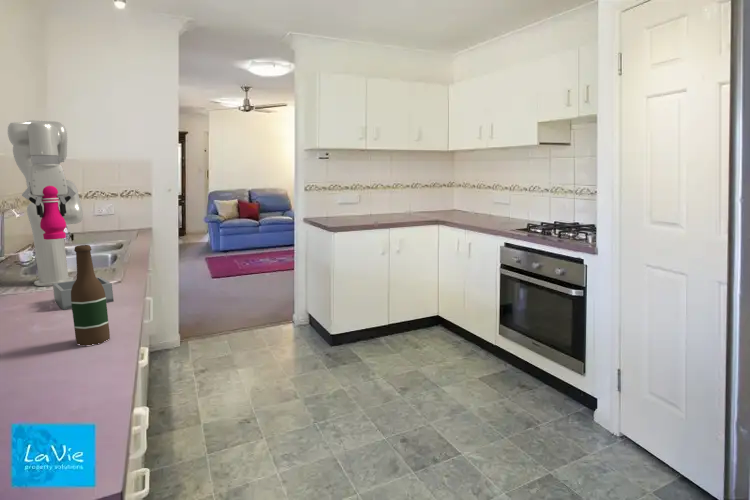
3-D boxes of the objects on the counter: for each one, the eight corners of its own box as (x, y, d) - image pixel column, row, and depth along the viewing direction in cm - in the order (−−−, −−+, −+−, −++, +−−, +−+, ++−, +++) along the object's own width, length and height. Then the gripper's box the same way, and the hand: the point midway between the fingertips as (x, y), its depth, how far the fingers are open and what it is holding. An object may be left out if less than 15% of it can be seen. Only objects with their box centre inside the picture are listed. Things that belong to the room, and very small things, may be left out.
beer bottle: (101, 333, 123) (91, 242, 119) (117, 339, 119) (107, 244, 115) (69, 342, 117) (57, 246, 113) (84, 349, 113) (72, 249, 109)
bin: (54, 301, 156) (52, 283, 155) (102, 293, 165) (100, 276, 164) (63, 310, 146) (60, 291, 145) (113, 301, 155) (111, 283, 154)
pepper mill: (54, 239, 156) (47, 178, 153) (36, 239, 157) (28, 178, 154) (72, 237, 163) (66, 178, 160) (55, 236, 164) (48, 178, 161)
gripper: (73, 161, 164) (79, 214, 167) (11, 161, 153) (19, 217, 156) (78, 161, 159) (84, 215, 162) (14, 160, 148) (22, 219, 150)
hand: (52, 216), depth 159 cm, fingers closed on pepper mill, 5 cm apart
